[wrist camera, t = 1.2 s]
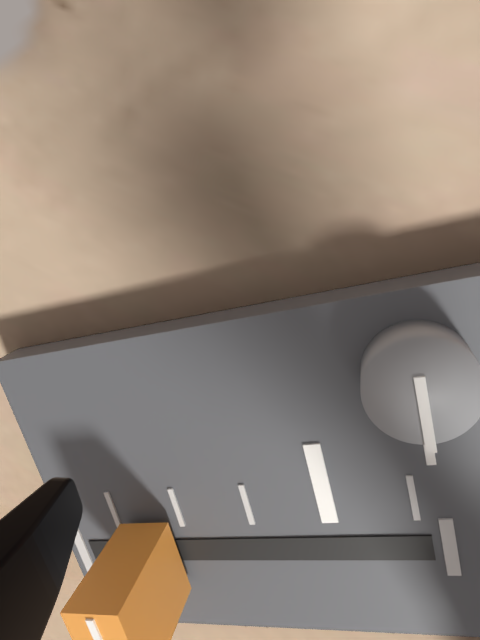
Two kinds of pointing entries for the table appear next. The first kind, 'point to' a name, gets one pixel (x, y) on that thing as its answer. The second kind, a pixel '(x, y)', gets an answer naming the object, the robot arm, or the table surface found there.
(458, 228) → the table surface
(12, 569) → the robot arm
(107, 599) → the fader
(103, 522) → the console
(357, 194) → the table surface
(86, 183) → the table surface
